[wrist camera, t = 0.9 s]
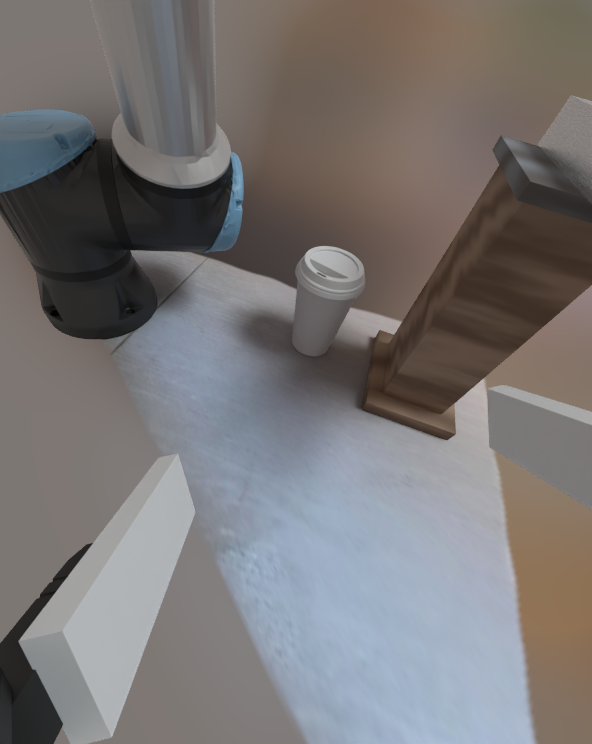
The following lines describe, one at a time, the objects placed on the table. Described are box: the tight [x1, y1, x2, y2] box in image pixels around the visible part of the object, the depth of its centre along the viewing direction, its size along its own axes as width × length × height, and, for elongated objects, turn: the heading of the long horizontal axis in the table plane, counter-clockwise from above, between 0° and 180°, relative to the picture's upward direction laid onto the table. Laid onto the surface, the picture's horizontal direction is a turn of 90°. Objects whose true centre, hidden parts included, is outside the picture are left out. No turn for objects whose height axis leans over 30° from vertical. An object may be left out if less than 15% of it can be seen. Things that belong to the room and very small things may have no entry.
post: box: [362, 136, 592, 440], centre depth 35 cm, size 16×13×30 cm
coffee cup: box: [292, 246, 365, 357], centre depth 43 cm, size 10×10×15 cm
